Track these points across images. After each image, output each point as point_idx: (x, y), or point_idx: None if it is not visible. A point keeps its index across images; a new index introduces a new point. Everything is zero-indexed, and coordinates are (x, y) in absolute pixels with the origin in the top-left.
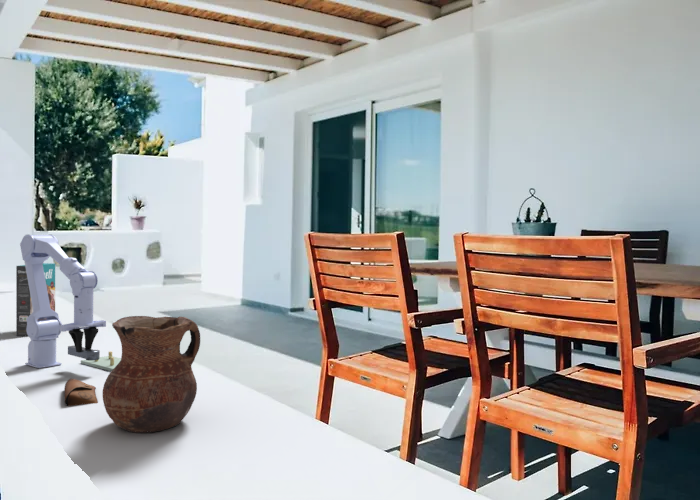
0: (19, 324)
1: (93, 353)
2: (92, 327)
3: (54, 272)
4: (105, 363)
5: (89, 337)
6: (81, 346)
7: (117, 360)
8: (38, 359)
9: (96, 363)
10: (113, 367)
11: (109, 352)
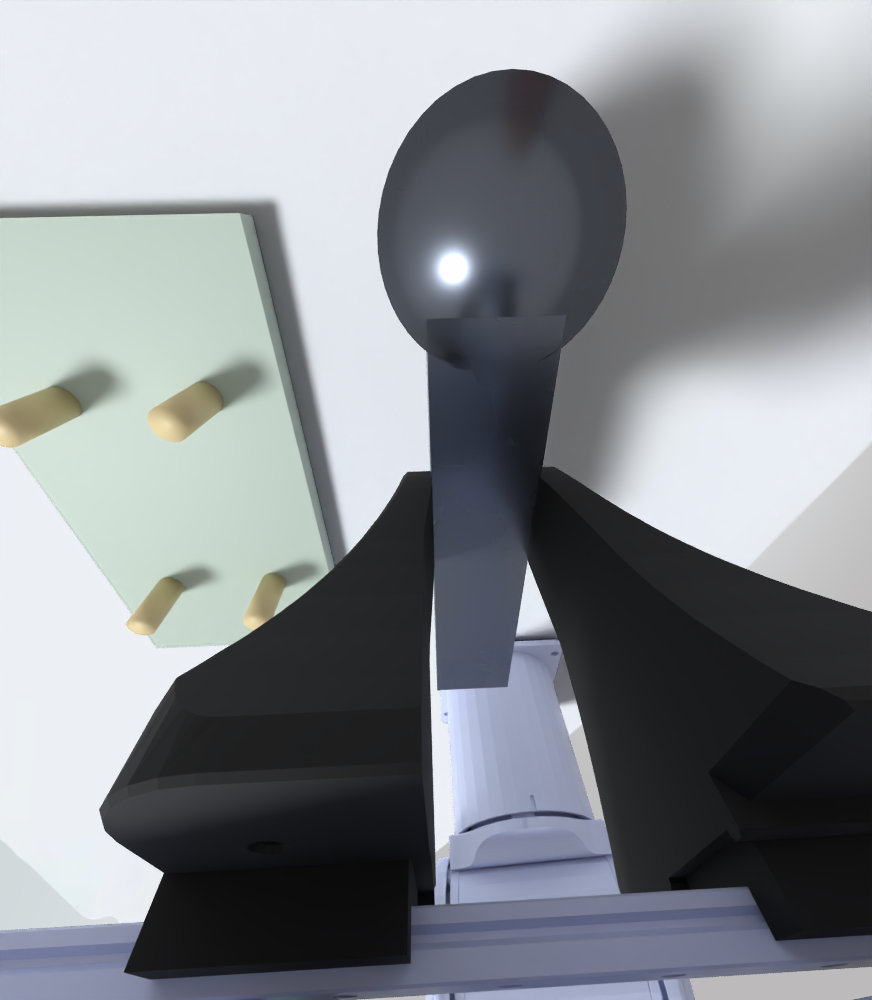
0: None
1: (558, 100)
2: (296, 935)
3: None
4: (240, 488)
5: (425, 613)
6: (566, 496)
7: (129, 519)
8: (553, 694)
9: (298, 526)
10: (218, 286)
11: (152, 620)
